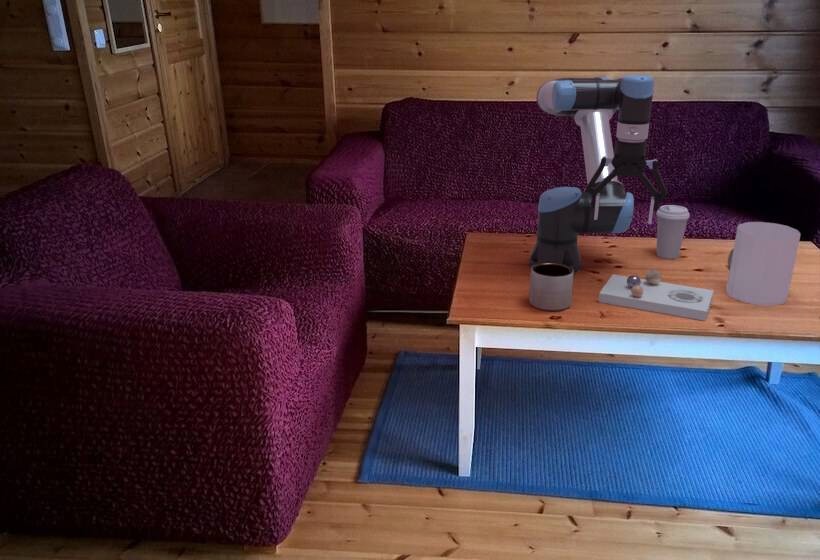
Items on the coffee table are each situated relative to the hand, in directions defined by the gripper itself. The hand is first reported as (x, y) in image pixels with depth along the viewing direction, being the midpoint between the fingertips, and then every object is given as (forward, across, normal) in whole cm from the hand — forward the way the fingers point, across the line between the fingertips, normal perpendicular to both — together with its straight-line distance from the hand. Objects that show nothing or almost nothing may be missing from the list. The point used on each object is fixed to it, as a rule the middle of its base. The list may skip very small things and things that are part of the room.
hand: (622, 220), depth 176 cm
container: (+20, +36, +6) cm, 41 cm away
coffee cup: (+20, +14, +32) cm, 40 cm away
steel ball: (+15, +5, -5) cm, 16 cm away
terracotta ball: (+15, +6, -10) cm, 19 cm away
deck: (+19, +10, -6) cm, 23 cm away
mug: (+20, +36, +26) cm, 48 cm away
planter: (+20, -16, -16) cm, 29 cm away
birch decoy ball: (+15, +9, 0) cm, 18 cm away
